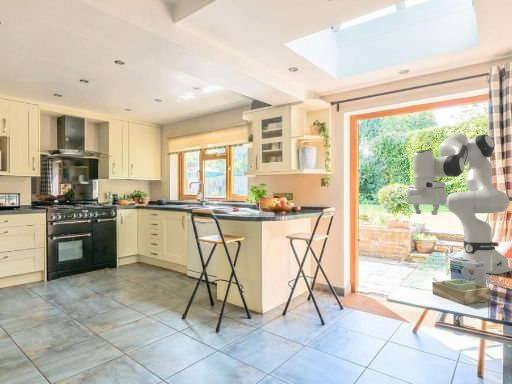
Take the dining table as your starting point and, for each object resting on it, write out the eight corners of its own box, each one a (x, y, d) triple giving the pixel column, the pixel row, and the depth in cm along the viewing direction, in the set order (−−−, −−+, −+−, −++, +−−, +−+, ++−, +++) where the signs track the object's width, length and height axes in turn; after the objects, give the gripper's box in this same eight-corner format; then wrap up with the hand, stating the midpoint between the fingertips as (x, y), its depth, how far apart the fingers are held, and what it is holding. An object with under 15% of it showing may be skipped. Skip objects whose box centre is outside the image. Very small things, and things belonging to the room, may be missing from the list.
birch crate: (458, 290, 123) (457, 278, 124) (490, 300, 111) (490, 287, 111) (432, 293, 120) (432, 282, 120) (463, 304, 108) (462, 291, 108)
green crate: (461, 292, 119) (461, 278, 120) (476, 296, 114) (475, 282, 114) (444, 294, 117) (444, 281, 118) (458, 299, 112) (458, 285, 112)
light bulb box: (450, 285, 131) (449, 259, 131) (460, 282, 134) (459, 257, 134) (476, 291, 121) (475, 263, 122) (487, 289, 124) (486, 261, 124)
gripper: (403, 185, 154) (404, 213, 153) (436, 183, 134) (438, 215, 133) (413, 185, 155) (415, 213, 155) (448, 183, 135) (450, 214, 135)
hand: (426, 214), depth 144 cm, fingers open, 8 cm apart
